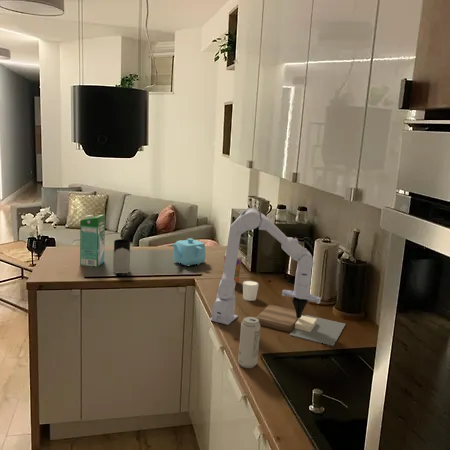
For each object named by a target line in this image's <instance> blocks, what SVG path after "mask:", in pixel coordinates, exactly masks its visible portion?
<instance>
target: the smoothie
mask: <svg viewBox="0 0 450 450" xmlns="http://www.w3.org/2000/svg"><path fill="white" fill-rule="evenodd" d="M223 254H224V257H223V258H224V261H223V262H224V263H223V265H224V264H225V257H226V252H225V253H223ZM242 260H243V254H242V252H241V250H240V249H239V250H238V256H237V262H236V269H235V275H234V280H235V283H236V285H237V284H238V282H239V280H240V273H241V265H242Z"/></svg>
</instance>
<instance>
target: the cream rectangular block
mask: <svg viewBox="0 0 450 450" xmlns="http://www.w3.org/2000/svg"><path fill="white" fill-rule="evenodd" d="M316 322H317V319H316V318H311V317H307V316H305V315H303V316H301V318H299V319H298V321H297V322H296V323H295V327H294V328H296V329H300V330H304V331H308V332H311V331H312V329H313V328H314V326H315V325H316Z"/></svg>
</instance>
